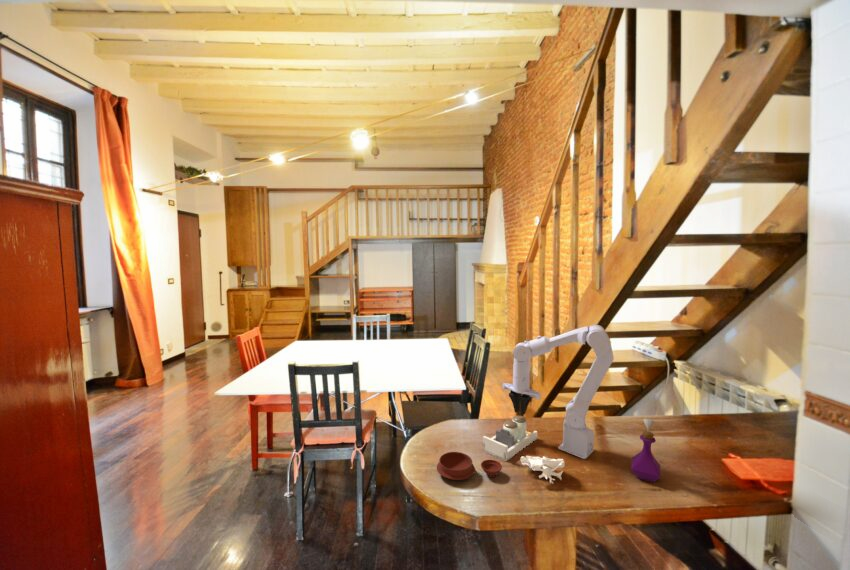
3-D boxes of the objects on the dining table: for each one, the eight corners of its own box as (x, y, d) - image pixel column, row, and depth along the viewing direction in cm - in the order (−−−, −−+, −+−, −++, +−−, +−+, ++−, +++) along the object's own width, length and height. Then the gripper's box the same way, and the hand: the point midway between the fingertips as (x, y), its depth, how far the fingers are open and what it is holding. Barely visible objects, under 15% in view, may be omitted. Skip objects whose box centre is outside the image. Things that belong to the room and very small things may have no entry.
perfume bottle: (659, 487, 106) (663, 428, 105) (630, 479, 110) (633, 421, 109) (659, 474, 113) (663, 418, 111) (631, 466, 117) (634, 412, 115)
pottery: (436, 462, 119) (436, 449, 118) (498, 464, 118) (498, 451, 118) (436, 485, 107) (436, 471, 106) (505, 487, 106) (505, 473, 106)
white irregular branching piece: (573, 461, 109) (543, 462, 104) (572, 485, 108) (542, 488, 103) (544, 449, 120) (515, 450, 115) (543, 471, 119) (514, 473, 114)
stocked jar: (520, 442, 129) (520, 423, 129) (512, 448, 126) (513, 428, 125) (508, 437, 133) (508, 419, 132) (500, 442, 129) (500, 423, 129)
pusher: (513, 448, 125) (514, 432, 124) (512, 450, 124) (512, 433, 124) (497, 441, 130) (497, 426, 129) (495, 442, 129) (496, 427, 128)
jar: (522, 441, 130) (522, 422, 130) (509, 437, 133) (510, 418, 133) (528, 436, 134) (529, 418, 133) (516, 432, 137) (516, 414, 137)
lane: (537, 438, 134) (537, 425, 134) (505, 461, 119) (506, 447, 119) (515, 430, 140) (515, 417, 140) (482, 450, 126) (482, 436, 125)
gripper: (545, 378, 130) (544, 415, 131) (509, 369, 140) (508, 403, 141) (535, 383, 125) (534, 422, 126) (499, 373, 135) (498, 409, 136)
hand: (520, 412), depth 133 cm, fingers closed
